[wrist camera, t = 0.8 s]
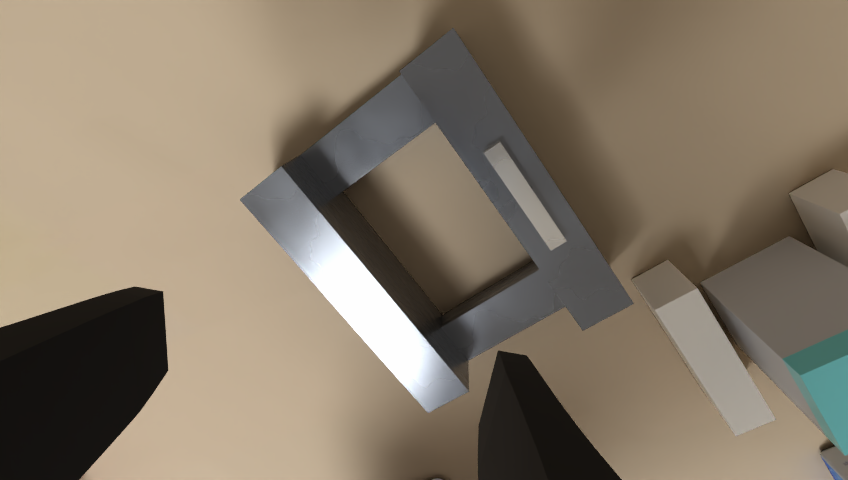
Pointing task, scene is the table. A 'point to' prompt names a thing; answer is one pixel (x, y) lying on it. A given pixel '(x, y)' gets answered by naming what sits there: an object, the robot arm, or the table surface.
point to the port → (381, 271)
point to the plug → (792, 326)
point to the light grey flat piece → (701, 333)
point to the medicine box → (836, 463)
